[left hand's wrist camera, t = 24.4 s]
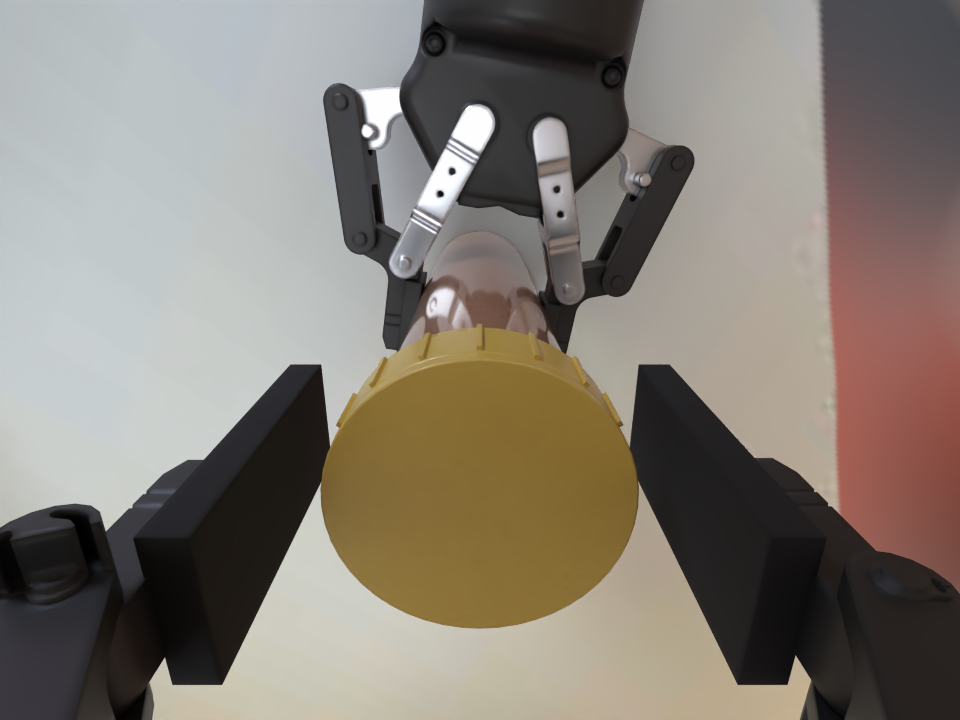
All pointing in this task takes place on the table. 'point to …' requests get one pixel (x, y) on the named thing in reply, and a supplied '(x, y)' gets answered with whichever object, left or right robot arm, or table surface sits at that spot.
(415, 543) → the lid
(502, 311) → the brown cylinder
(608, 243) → the right robot arm
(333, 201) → the table surface
